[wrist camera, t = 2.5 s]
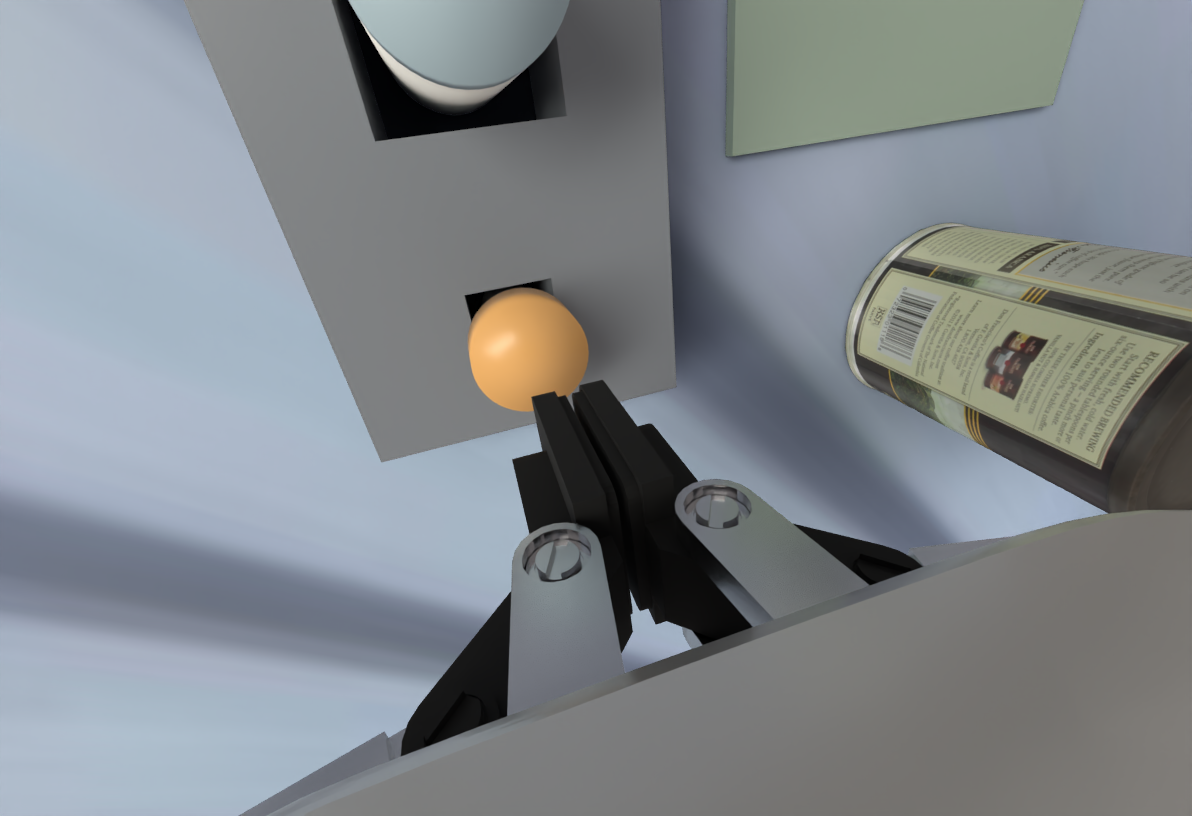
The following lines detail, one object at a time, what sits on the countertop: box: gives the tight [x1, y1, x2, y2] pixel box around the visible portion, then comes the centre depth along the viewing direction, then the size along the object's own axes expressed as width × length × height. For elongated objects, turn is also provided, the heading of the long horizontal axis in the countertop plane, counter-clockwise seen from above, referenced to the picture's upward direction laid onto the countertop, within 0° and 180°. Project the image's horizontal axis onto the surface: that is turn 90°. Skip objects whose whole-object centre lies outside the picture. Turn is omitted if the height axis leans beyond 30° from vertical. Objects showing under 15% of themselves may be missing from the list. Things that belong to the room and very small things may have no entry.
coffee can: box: [845, 223, 1192, 514], centre depth 23 cm, size 10×10×14 cm
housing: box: [184, 0, 676, 462], centre depth 17 cm, size 18×12×5 cm, turn 7°
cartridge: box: [348, 0, 570, 115], centre depth 13 cm, size 4×4×10 cm
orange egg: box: [468, 284, 589, 412], centre depth 17 cm, size 4×4×6 cm
